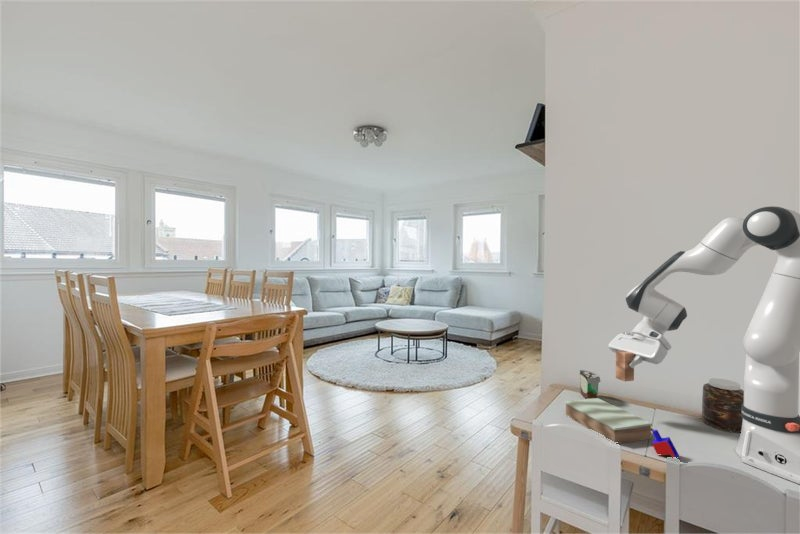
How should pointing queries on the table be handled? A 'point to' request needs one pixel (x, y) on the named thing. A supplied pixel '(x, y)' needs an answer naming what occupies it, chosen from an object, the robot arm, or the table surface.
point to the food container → (589, 384)
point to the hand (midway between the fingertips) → (623, 364)
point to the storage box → (608, 420)
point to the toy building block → (663, 445)
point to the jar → (722, 405)
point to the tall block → (624, 366)
